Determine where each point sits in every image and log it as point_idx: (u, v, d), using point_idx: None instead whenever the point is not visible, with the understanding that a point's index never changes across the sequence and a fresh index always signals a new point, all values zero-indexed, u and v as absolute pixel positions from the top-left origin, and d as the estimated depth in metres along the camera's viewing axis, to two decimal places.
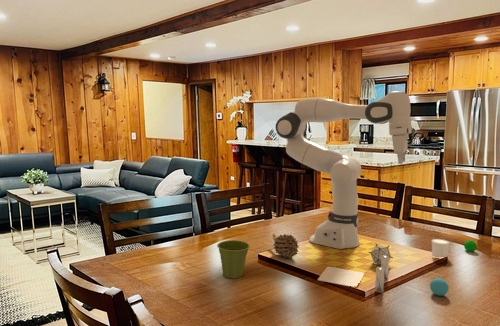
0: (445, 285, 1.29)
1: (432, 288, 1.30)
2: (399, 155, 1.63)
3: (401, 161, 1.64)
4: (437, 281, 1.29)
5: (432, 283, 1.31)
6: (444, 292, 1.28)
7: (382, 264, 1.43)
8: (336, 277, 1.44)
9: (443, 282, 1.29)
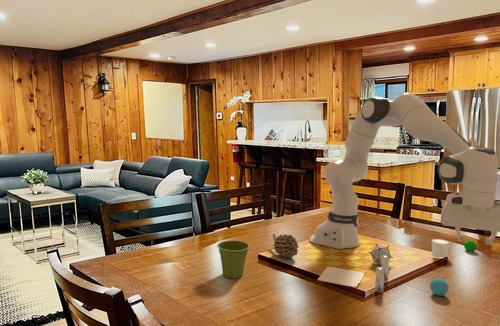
0: (445, 285, 1.29)
1: (432, 288, 1.30)
2: (455, 228, 1.27)
3: (458, 237, 1.27)
4: (437, 281, 1.29)
5: (432, 283, 1.31)
6: (444, 292, 1.28)
7: (382, 264, 1.43)
8: (336, 277, 1.44)
9: (443, 282, 1.29)
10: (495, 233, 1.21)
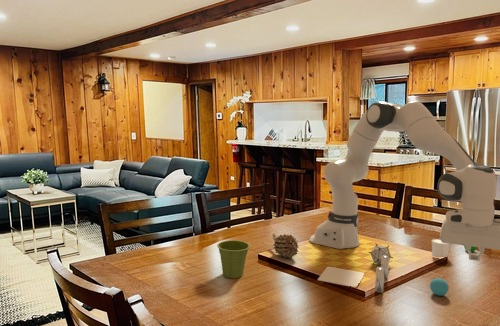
0: (445, 285, 1.29)
1: (432, 288, 1.30)
2: None
3: (469, 256, 1.26)
4: (437, 281, 1.29)
5: (432, 283, 1.31)
6: (444, 292, 1.28)
7: (382, 264, 1.43)
8: (336, 277, 1.44)
9: (443, 282, 1.29)
10: (483, 249, 1.23)
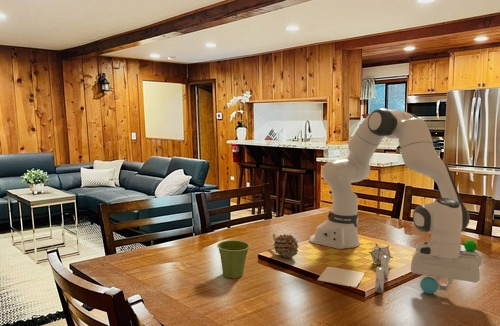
0: (430, 280, 1.30)
1: (424, 290, 1.31)
2: None
3: (438, 286, 1.31)
4: (422, 282, 1.31)
5: (421, 286, 1.32)
6: (434, 287, 1.29)
7: (382, 264, 1.43)
8: (336, 277, 1.44)
9: (427, 279, 1.31)
10: (451, 280, 1.28)
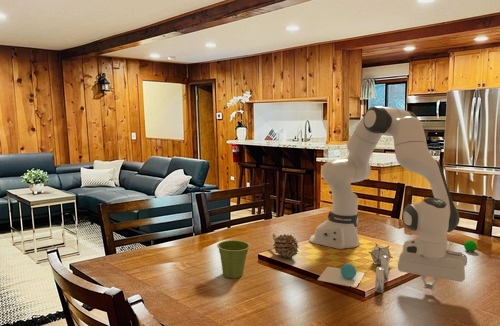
0: (345, 278, 1.42)
1: (352, 270, 1.41)
2: None
3: (424, 285, 1.32)
4: (352, 277, 1.41)
5: (354, 272, 1.41)
6: (342, 273, 1.42)
7: (382, 264, 1.43)
8: (336, 277, 1.44)
9: None
10: (436, 279, 1.30)
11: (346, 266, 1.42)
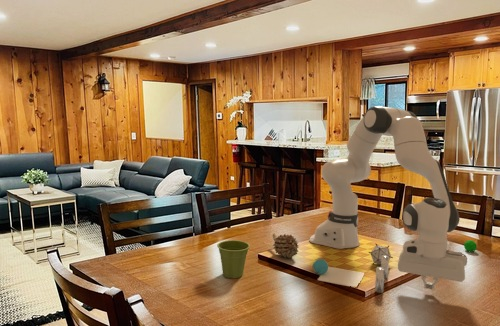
0: (317, 262, 1.46)
1: (317, 273, 1.46)
2: None
3: (424, 285, 1.32)
4: (313, 266, 1.47)
5: (314, 270, 1.47)
6: (322, 266, 1.45)
7: (382, 264, 1.43)
8: (336, 277, 1.44)
9: (315, 262, 1.47)
10: (436, 279, 1.30)
11: (323, 273, 1.45)
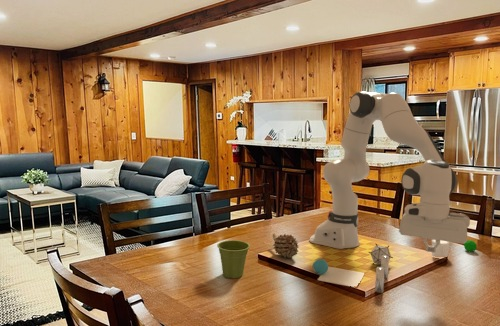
0: (317, 262, 1.46)
1: (317, 273, 1.46)
2: None
3: (426, 248, 1.31)
4: (313, 266, 1.47)
5: (314, 270, 1.47)
6: (322, 266, 1.45)
7: (382, 264, 1.43)
8: (336, 277, 1.44)
9: (315, 262, 1.47)
10: (438, 241, 1.28)
11: (323, 273, 1.45)
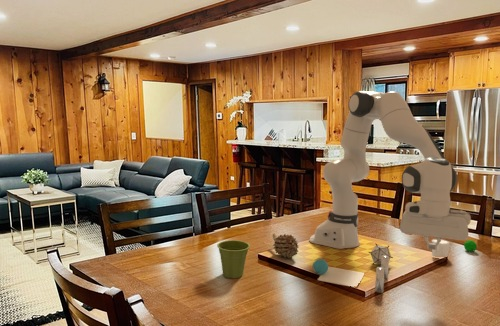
0: (317, 262, 1.46)
1: (317, 273, 1.46)
2: None
3: (427, 245, 1.31)
4: (313, 266, 1.47)
5: (314, 270, 1.47)
6: (322, 266, 1.45)
7: (382, 264, 1.43)
8: (336, 277, 1.44)
9: (315, 262, 1.47)
10: (439, 239, 1.28)
11: (323, 273, 1.45)
